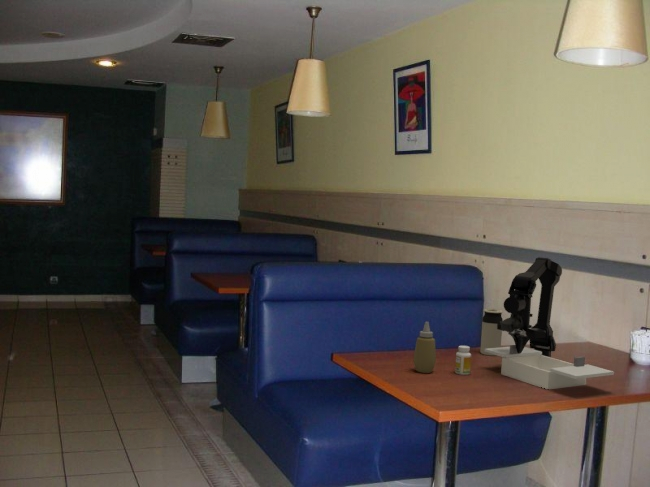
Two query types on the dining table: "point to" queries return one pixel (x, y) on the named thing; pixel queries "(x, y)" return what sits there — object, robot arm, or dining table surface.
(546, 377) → the carton
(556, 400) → the dining table surface
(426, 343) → the squeeze bottle
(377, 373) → the dining table surface
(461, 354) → the supplement bottle
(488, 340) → the travel mug
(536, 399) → the dining table surface
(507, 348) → the flap
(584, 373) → the flap
